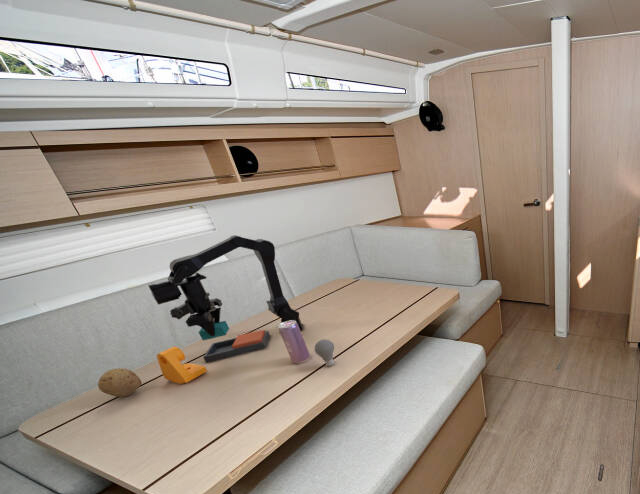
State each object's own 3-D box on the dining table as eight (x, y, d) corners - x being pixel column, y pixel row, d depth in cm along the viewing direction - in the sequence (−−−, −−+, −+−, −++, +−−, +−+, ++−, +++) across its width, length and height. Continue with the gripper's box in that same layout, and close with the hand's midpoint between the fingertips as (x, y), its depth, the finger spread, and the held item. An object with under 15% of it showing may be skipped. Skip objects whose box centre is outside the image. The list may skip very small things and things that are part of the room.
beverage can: (314, 356, 130) (300, 321, 124) (299, 365, 125) (284, 328, 119) (303, 353, 133) (289, 318, 126) (288, 362, 128) (273, 326, 121)
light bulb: (321, 371, 121) (312, 347, 116) (321, 363, 126) (312, 339, 121) (340, 366, 123) (331, 341, 119) (339, 358, 128) (330, 334, 124)
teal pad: (229, 328, 135) (225, 320, 134) (225, 335, 130) (221, 327, 129) (207, 333, 133) (203, 325, 131) (202, 340, 128) (198, 332, 126)
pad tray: (270, 335, 149) (268, 330, 148) (265, 348, 139) (263, 342, 138) (215, 348, 142) (212, 343, 141) (206, 362, 133) (203, 357, 131)
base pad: (267, 336, 148) (264, 329, 146) (263, 346, 140) (260, 339, 138) (240, 342, 144) (237, 335, 143) (235, 352, 136) (231, 345, 135)
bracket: (209, 372, 126) (193, 343, 121) (187, 384, 120) (170, 355, 115) (188, 369, 129) (172, 341, 124) (166, 381, 123) (148, 352, 118)
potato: (106, 398, 117) (88, 373, 112) (141, 383, 123) (126, 359, 119) (112, 407, 112) (93, 381, 107) (148, 391, 118) (132, 366, 114)
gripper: (176, 290, 129) (196, 327, 136) (156, 309, 114) (180, 349, 120) (213, 284, 133) (230, 320, 140) (198, 300, 118) (218, 340, 124)
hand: (215, 332), depth 131 cm, fingers closed on teal pad, 6 cm apart
